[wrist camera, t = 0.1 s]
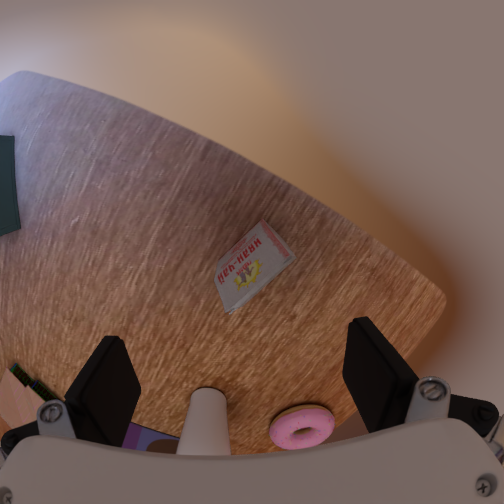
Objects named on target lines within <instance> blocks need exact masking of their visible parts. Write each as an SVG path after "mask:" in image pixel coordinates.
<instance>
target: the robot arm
mask: <svg viewBox="0 0 504 504" xmlns="http://www.w3.org/2000/svg"><path fill="white" fill-rule="evenodd" d="M342 375H343V379H344V381H345V383H346V385H347V388H348V390H349V392H350V394H351V396H352V398H353V400H354V402H355V404H356V406H357V408H358V410H359V413H360V415H361V417H362V419H363V421H364V423H365V425H366V428H367V430H368V432H369V434H366V435H363V436H359V437H355V438H351V439H347V440H342V441H338V442H333V443H329V444H324V445H319V446H313V447H308V448H302V449H295V450H288V451H280V452H271V453H261V454H247V455H219V456H207V455H180V454H166V453H156V452H147V451H139V450H132V449H126V448H122V445H123V442H124V439H125V436H126V433H127V430H128V427H129V424H130V421H131V419H132V416H133V413H134V410H135V407H136V405H137V402H138V399H139V397H140V394H141V386H140V383H139V381H138V378H137V376H136V373H135V371H134V368H133V366H132V363H131V360H130V358H129V355H128V352H127V350H126V347H125V344H124V341H123V340H122V339H120V338H119V337H118V336H105V337H104V338H103V339H102V341H101V342H100V343H99V345H98V346H97V348H96V349H95V350H94V352H93V353H92V355H91V356H90V358H89V359H88V361H87V362H86V364H85V365H84V367H83V368H82V369H81V371H80V372H79V374H78V375H77V377H76V379H75V380H74V382H73V383H72V385H71V386H70V388H69V389H68V391H67V392H66V394H65V396H64V397H65V399H66V400H65V402H64V403H63V402H62V401H60V400H49V401H47V402H45V403H43V404H42V405H41V406H40V407H39V408H38V411H37V420H35V421H33V422H30V423H28V424H25V425H22V426H20V427H17V428H14V429H12V430H9V431H7V432H6V433H5V434H4V435H3V437H2V439H1V447H0V504H504V414H503V415H502V417H500V416H499V412H498V410H497V408H496V406H495V405H494V404H492V403H491V402H488V401H484V400H478V399H473V398H468V397H463V396H457V395H453V394H451V389H450V386H449V384H448V383H447V382H446V381H444V380H443V379H441V378H439V377H435V376H428V377H424V378H422V379H419V378H418V377H417V375H416V374H415V373H414V372H413V370H412V369H411V368H410V367H409V365H408V364H407V363H406V362H405V360H404V359H403V358H402V357H401V355H400V354H399V353H398V352H397V351H396V349H395V348H394V347H393V346H392V345H391V344H390V343H389V342H388V340H387V339H386V338H385V337H384V336H383V334H382V333H381V332H380V331H379V330H378V328H377V327H376V326H375V325H374V324H373V322H372V321H371V320H370V319H369V318H368V317H367V316H365V317H359V318H354V319H353V321H352V322H350V323H349V326H348V334H347V343H346V350H345V357H344V364H343V371H342Z"/></svg>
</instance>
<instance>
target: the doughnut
mask: <svg viewBox="0 0 504 504" xmlns="http://www.w3.org/2000/svg"><path fill="white" fill-rule="evenodd" d="M334 423H335V420H334V416H333V415H332V414H331V413H330V411H329V410H327V409H326V408H324V407H322V406H318V405H300V406H296V407H293V408H290V409H288V410H286V411H284V412H282V413H281V414H279V415H278V416H277V417H276V418H275V419H274V420H273V422H272V423H271V426H270V430H269V436H270V438H271V440H272V441H273V443H275V444H276V445H277V446H279V447H281V448H283V449H288V450H295V449H302V448H308V447H313V446H316V445H318V444H320V443H321V442H323V441H324V440H326V439H327V438H328V437H329V436H330V434H331V433H332V432H333V430H334V425H335V424H334ZM306 427H307V428H306ZM301 428H303V429H301ZM304 428H305V429H304ZM300 429H301V430H300ZM281 448H280V449H281Z"/></svg>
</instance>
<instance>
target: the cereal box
mask: <svg viewBox="0 0 504 504" xmlns="http://www.w3.org/2000/svg"><path fill="white" fill-rule="evenodd" d="M179 439H180V438H178V437H175V436H171V435H168V434H165V433H161V432H158V431H155V430H152V429H149V428H146V427H144V426H141V425H138V424H135V423H133V422H130V424H129V427H128V430H127V433H126V436H125V439H124V442H123V445H122V448H126V449H132V450H139V451H147V452H156V453H166V454H176V451H177V447H178V443H179Z"/></svg>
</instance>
